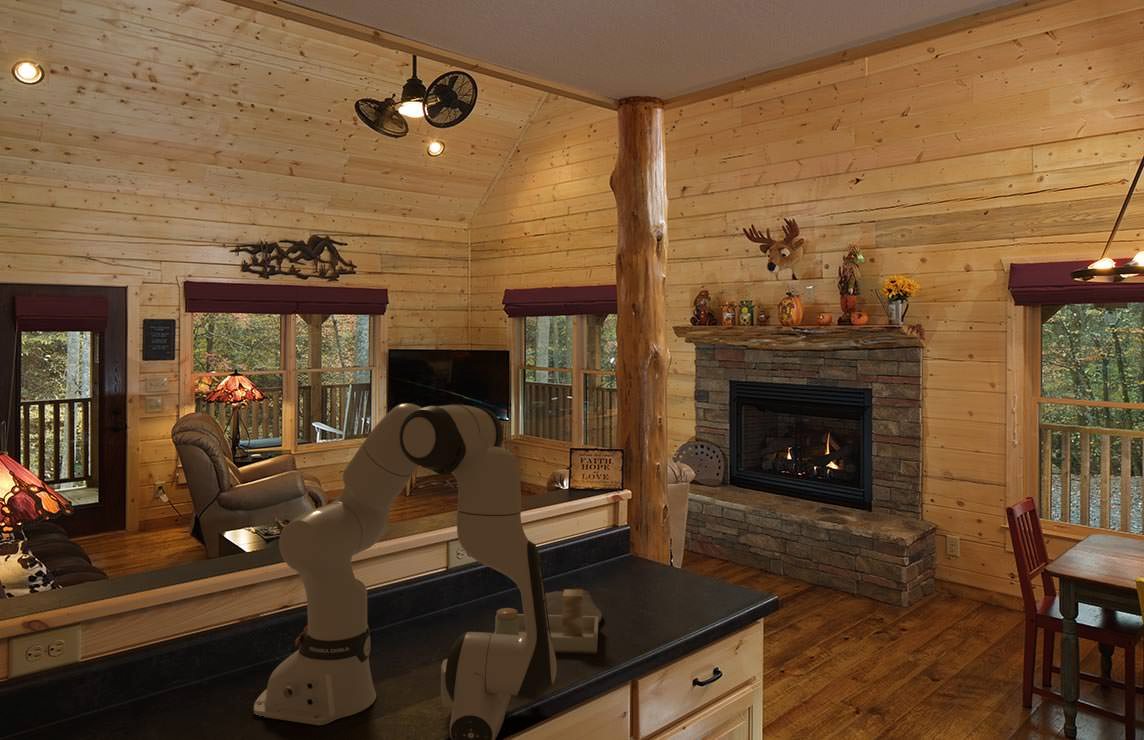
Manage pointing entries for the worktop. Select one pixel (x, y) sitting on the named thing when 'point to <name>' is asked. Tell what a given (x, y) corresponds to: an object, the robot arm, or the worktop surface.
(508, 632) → the sage jar
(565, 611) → the birch block
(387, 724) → the worktop surface
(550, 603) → the stone tool
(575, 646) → the beige tray
